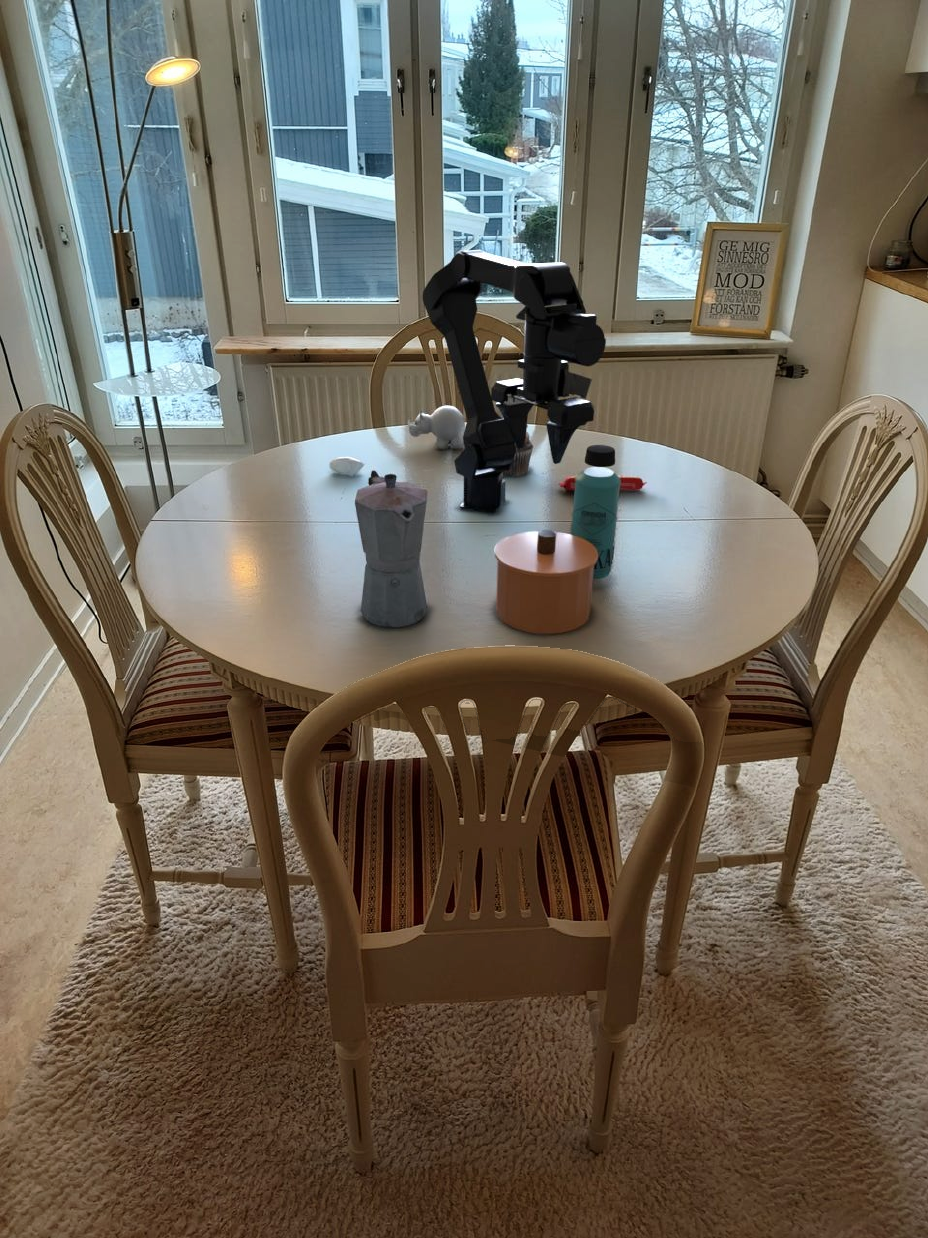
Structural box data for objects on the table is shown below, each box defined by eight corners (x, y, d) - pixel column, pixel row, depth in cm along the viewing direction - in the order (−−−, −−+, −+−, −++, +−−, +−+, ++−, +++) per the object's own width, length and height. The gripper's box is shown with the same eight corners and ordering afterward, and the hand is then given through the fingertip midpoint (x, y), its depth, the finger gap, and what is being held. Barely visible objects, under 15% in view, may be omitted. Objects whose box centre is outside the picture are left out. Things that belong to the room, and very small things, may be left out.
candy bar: (642, 487, 161) (644, 472, 159) (647, 494, 158) (648, 478, 156) (557, 487, 160) (558, 472, 159) (559, 494, 157) (560, 479, 156)
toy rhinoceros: (409, 440, 186) (408, 401, 182) (464, 441, 186) (464, 401, 182) (406, 451, 179) (405, 410, 175) (464, 451, 179) (464, 410, 175)
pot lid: (479, 571, 110) (480, 545, 108) (512, 532, 121) (513, 508, 120) (583, 588, 106) (585, 561, 104) (607, 546, 117) (609, 522, 115)
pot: (483, 623, 114) (484, 565, 110) (513, 584, 125) (515, 530, 120) (575, 641, 110) (580, 581, 106) (598, 599, 121) (603, 543, 117)
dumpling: (330, 481, 164) (325, 460, 163) (333, 477, 169) (329, 457, 168) (366, 474, 164) (361, 453, 162) (368, 470, 169) (364, 450, 167)
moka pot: (381, 645, 109) (374, 496, 100) (339, 595, 121) (329, 458, 112) (448, 628, 113) (448, 483, 103) (401, 582, 125) (396, 448, 115)
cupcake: (474, 472, 168) (474, 421, 163) (498, 459, 175) (500, 410, 170) (517, 481, 163) (519, 429, 159) (540, 467, 171) (543, 417, 166)
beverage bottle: (562, 571, 129) (571, 440, 119) (606, 569, 129) (618, 439, 120) (571, 590, 123) (581, 455, 113) (616, 588, 124) (630, 454, 114)
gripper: (626, 358, 125) (616, 462, 133) (546, 338, 139) (541, 433, 146) (567, 368, 120) (560, 475, 127) (489, 345, 133) (488, 443, 141)
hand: (538, 455), depth 136 cm, fingers open, 9 cm apart
